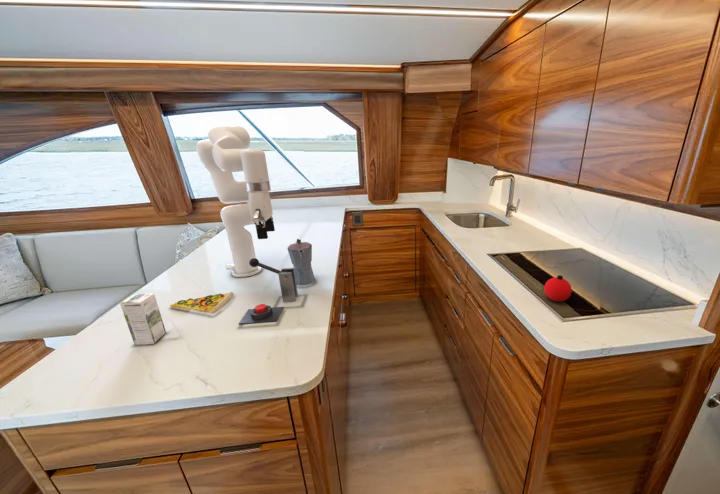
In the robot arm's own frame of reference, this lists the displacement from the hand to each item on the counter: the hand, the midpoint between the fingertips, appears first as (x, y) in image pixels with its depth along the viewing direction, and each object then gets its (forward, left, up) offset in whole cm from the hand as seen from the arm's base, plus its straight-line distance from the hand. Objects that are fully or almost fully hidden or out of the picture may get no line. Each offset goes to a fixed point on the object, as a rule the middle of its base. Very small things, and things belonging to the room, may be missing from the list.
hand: (266, 234), depth 108 cm
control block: (-1, -16, -25) cm, 30 cm away
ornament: (+105, -18, -26) cm, 110 cm away
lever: (0, -5, -13) cm, 14 cm away
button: (-1, -16, -22) cm, 27 cm away
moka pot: (+8, +11, -26) cm, 29 cm away
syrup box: (-32, -23, -26) cm, 47 cm away
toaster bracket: (+6, -5, -25) cm, 27 cm away
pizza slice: (-27, -4, -26) cm, 37 cm away
